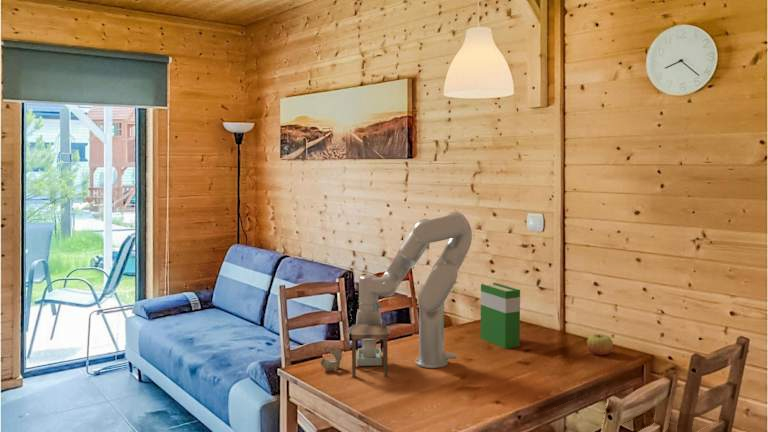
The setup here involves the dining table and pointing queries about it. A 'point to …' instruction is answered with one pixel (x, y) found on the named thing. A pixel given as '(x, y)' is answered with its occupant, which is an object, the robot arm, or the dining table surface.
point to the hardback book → (500, 315)
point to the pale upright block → (369, 348)
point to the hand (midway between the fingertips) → (369, 349)
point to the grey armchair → (368, 361)
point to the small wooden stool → (369, 333)
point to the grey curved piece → (330, 363)
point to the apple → (599, 344)
